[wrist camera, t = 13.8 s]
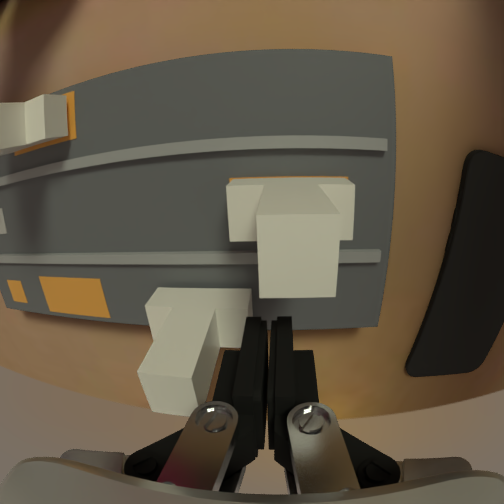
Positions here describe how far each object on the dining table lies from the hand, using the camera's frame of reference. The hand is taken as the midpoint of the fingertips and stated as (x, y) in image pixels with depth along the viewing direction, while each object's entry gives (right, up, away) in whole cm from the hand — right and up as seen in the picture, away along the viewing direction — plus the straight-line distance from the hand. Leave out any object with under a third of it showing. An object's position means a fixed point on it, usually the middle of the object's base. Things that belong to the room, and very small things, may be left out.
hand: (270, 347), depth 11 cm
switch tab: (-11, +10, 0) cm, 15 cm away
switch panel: (-6, +6, +4) cm, 10 cm away
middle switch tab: (+1, +6, +1) cm, 6 cm away
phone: (+14, +2, +4) cm, 14 cm away
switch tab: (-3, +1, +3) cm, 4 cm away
